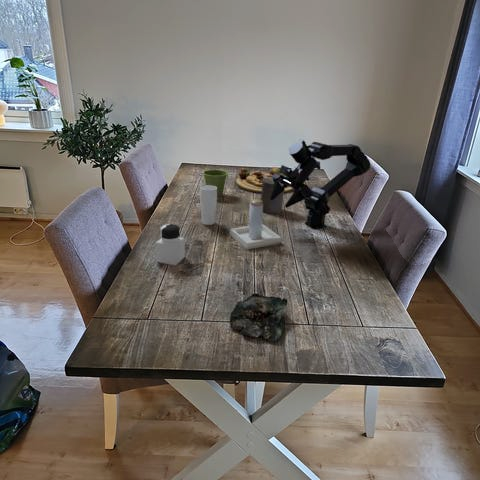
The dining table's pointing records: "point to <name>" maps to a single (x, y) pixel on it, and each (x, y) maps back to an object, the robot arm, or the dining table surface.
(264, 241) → the white square dish
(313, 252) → the dining table surface
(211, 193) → the drinking glass
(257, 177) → the wooden plate with food
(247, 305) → the decorative rock
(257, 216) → the spice jar
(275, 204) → the pillar candle
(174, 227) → the medicine bottle
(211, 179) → the plant pot
